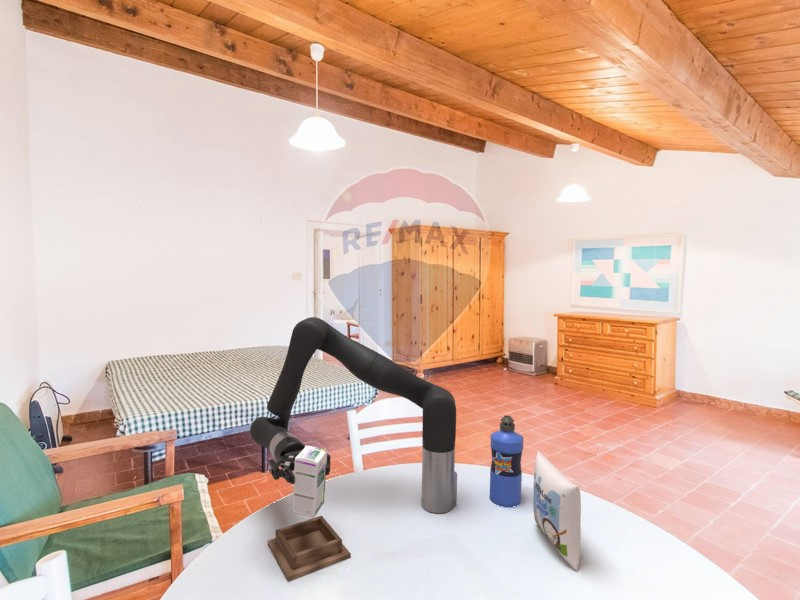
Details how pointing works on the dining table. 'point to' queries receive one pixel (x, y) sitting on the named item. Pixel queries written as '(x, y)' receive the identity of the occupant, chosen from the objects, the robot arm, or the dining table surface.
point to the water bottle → (506, 465)
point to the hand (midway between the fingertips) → (311, 475)
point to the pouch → (557, 509)
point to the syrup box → (309, 481)
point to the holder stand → (307, 547)
